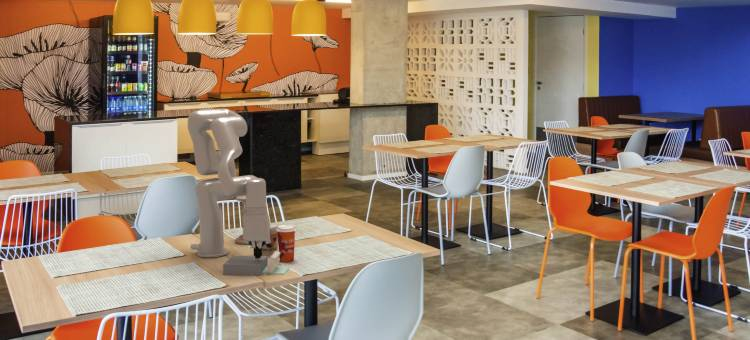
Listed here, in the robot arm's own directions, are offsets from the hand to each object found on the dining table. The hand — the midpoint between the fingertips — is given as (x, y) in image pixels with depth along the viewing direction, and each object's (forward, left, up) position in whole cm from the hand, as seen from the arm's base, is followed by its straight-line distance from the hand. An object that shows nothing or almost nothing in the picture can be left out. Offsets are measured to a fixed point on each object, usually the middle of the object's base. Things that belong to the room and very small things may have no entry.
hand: (258, 257), depth 294 cm
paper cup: (+8, +15, -5) cm, 17 cm away
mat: (+7, +1, -5) cm, 8 cm away
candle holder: (-15, +45, -5) cm, 47 cm away
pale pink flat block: (+5, 0, -1) cm, 5 cm away
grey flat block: (-5, 0, -5) cm, 7 cm away
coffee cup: (-2, +25, -5) cm, 25 cm away
